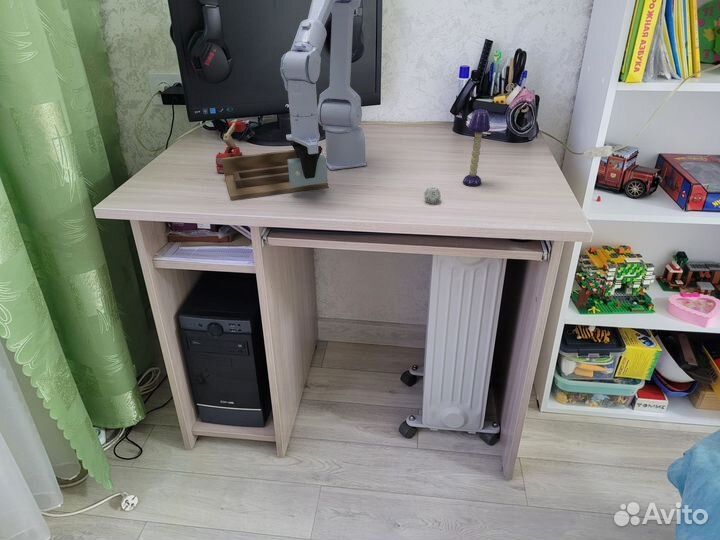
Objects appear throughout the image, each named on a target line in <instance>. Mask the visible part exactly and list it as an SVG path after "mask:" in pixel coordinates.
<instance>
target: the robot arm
mask: <svg viewBox="0 0 720 540" xmlns="http://www.w3.org/2000/svg"><path fill="white" fill-rule="evenodd" d="M361 2H362V0H311V3H310V6H309V7H310V8H309V11H308V16H307V19H303V20H302V21H300V22H299V23H300V24H299V27H298V29H297V32H296V35H295V37H294V40H293V43H292V44H291V47H290V50H288V51H287V52H286V53H284V54H283V55H282V57H281V61H280V68H279V71H280V75H281V78H282V80H283V83H284V89H285V91H287V96H288V97H287V98H288V106H289V108H288V109H289V120H290V131H291V133H290V134H289V133H288V134H286V135H285V137H286V140H287V141H289V143H290V144H291V146H292V148H293V150H295V152H296V155H297V158H299V159H300V161H301V165H302V170H303V174H304V177H305V179H309V178H315V174H316V167H317V162H318V159H319V156H320V155H322V152H323V147H322V146H321V145H319V141H320V137H321V134H320V132H319V131H320V130H319V125H320V126H321V127H322V130H323V131H324V132H325V133H324V134H325V148H326V150H325V151H326V154H325V155H326V157H325V158H326V164H327V169H328V170H329V171H335V170H342V169H351V168H357V167H365V166H367V163H366V136H365V131H364V129H363V128H362V126H361V122H362V119H363V110H362V98H361V96H360V95H359V94H358V93H357V91H355V90H354V89H353V88H352V87H351V75H352V74H351V72H352V71H351V70H352V56H353V54H352V52H353V51H352V49H353V33H354V32H353V31H354V28H353V27H354V15H355V11H356V10H357V9H359V8H360V7H361ZM330 14H331V30H330V32H331V33H330V56H329V57H330V58H329V59H330V60H329V61H330V63H329V84H328V85H329V86H328V88H326V89H325V90H323V91H322V92H321V93H320V94H319V97H318V98H317V83H316V82H318V79H319V77H320V74H321V62H322V58H321V53H322V50H323V47H324V44H325V42H326V38H327V30H326V27H325V25H326V23H327V20H328V18H329V16H330ZM344 100H346V101H344Z"/></svg>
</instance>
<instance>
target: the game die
mask: <svg viewBox="0 0 720 540" xmlns="http://www.w3.org/2000/svg"><path fill="white" fill-rule="evenodd" d="M423 198H424V200H425V202H426V203H428V204H431V205H433V204H436V203H438V202H439V200H441V192H440V189H439V188H438V187H435V186H430V187H427V188H426V189H425V191H424V192H423Z"/></svg>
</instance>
